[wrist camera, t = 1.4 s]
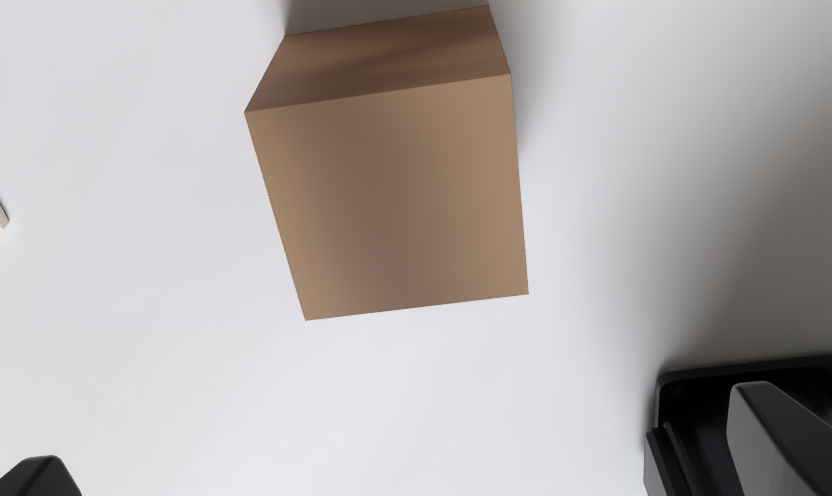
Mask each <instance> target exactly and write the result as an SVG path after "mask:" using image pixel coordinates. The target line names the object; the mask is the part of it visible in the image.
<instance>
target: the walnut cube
mask: <svg viewBox="0 0 832 496" xmlns="http://www.w3.org/2000/svg"><path fill="white" fill-rule="evenodd" d="M244 114H245V117H246V121H247V124H248V128H249V131H250V134H251V138H252V141H253V145H254V148H255V152H256V155H257V158H258V162H259V165H260V169H261V172H262V175H263V179H264V182H265V186H266V189H267V192H268V196H269V199H270V203H271V206H272V209H273V213H274V216H275V220H276V223H277V226H278V230H279V233H280V237H281V240H282V243H283V247H284V250H285V254H286V257H287V260H288V264H289V267H290V271H291V274H292V278H293V281H294V284H295V288H296V291H297V295H298V298H299V301H300V305H301V308H302V312H303V315H304V318H305V321H307V320H315V319H324V318H332V317H341V316H349V315H357V314H366V313H374V312H383V311H391V310H400V309H408V308H416V307H425V306H433V305H442V304H450V303H458V302H467V301H475V300H484V299H492V298H500V297H509V296H517V295H526V294H529V292H528V279H527V267H526V255H525V242H524V230H523V217H522V205H521V193H520V180H519V168H518V156H517V143H516V131H515V118H514V106H513V94H512V81H511V73H510V70H509V67H508V64H507V61H506V58H505V55H504V52H503V48H502V45H501V42H500V39H499V36H498V33H497V30H496V27H495V24H494V21H493V18H492V15H491V12H490V9H489V6H488V5H487V6H480V7H473V8H467V9H460V10H453V11H447V12H440V13H434V14H427V15H420V16H414V17H407V18H400V19H394V20H387V21H381V22H374V23H367V24H361V25H354V26H347V27H341V28H334V29H328V30H321V31H314V32H308V33H301V34H294V35H288V36H284V38H283V40H282V42H281V44H280V45H279V47H278V49H277V51H276V53H275V55H274V57H273V59H272V60H271V62H270V64H269V66H268V68H267V70H266V72H265V74H264V76H263V77H262V79H261V81H260V83H259V85H258V87H257V89H256V91H255V93H254V94H253V96H252V98H251V100H250V102H249V104H248V106H247V108H246V109H245V111H244Z"/></svg>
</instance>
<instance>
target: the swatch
mask: <svg viewBox="0 0 832 496" xmlns="http://www.w3.org/2000/svg"><path fill="white" fill-rule="evenodd" d="M8 223H9V221H8V219H7V217H6V215H5V213H4V211H3V209H2V207H1V205H0V230H3V229H4V228H5V227H6V225H7V224H8Z"/></svg>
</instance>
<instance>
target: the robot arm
mask: <svg viewBox="0 0 832 496" xmlns="http://www.w3.org/2000/svg"><path fill="white" fill-rule="evenodd" d="M672 386H676V387H675V388H672V389H669V388H670V387H672ZM643 480H644V485H645V488H646V491H647V494H648V496H832V354H831V355H821V356H812V357H802V358H793V359H784V360H774V361H765V362H756V363H746V364H737V365H728V366H718V367H709V368H699V369H690V370H681V371H672V372H668V373H665V374H663V375H662V376H660V377H659V379H658V380H657V382H656V392H655V416H654V427H653V428H649V430H648V431H647V432H646V434H645V446H644V478H643ZM0 496H82V494H81V492H80V490H79V488H78V486H77V485H76V483H75V481H74V480H73V478H72V476H71V475H70V473H69V472H68V470H67V468H66V467H65V465H64V463H63V462H62V460H61V459H60V458H58V457H57V456H53V455H48V456H38V457H30V458H27V459H24V460H22V461H21V462H20V463H18V464H17V465H16V466H15V467H14V468H12V469H11V470H10V471H9V472H8V473H6V474H5V475H4V476H3V477H2V478H0Z"/></svg>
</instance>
